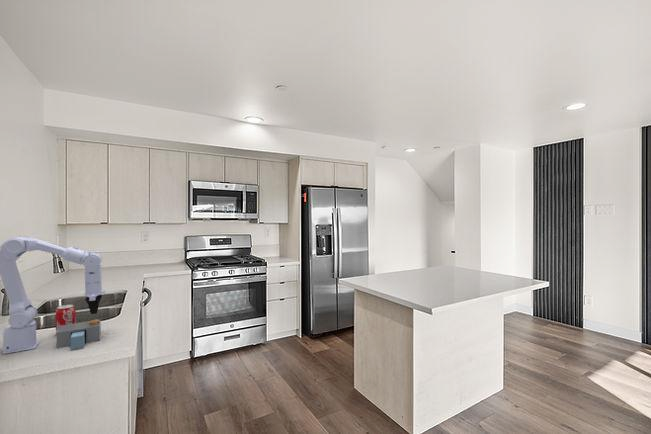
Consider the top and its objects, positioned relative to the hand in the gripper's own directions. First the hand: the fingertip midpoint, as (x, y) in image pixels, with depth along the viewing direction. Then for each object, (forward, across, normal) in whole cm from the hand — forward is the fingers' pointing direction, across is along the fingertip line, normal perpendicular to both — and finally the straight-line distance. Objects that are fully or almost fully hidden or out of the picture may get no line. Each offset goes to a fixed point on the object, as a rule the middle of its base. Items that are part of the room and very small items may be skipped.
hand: (94, 313), depth 140 cm
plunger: (+8, 0, 0) cm, 8 cm away
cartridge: (+10, -4, +5) cm, 12 cm away
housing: (+10, -1, +5) cm, 12 cm away
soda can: (+11, +12, +11) cm, 20 cm away
